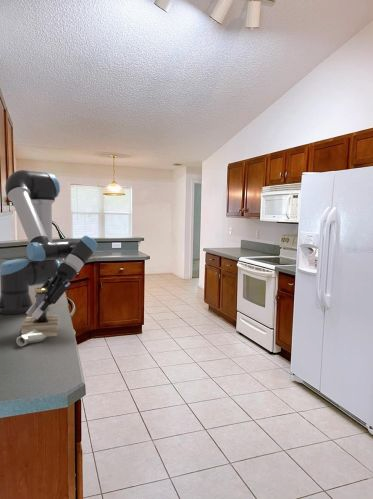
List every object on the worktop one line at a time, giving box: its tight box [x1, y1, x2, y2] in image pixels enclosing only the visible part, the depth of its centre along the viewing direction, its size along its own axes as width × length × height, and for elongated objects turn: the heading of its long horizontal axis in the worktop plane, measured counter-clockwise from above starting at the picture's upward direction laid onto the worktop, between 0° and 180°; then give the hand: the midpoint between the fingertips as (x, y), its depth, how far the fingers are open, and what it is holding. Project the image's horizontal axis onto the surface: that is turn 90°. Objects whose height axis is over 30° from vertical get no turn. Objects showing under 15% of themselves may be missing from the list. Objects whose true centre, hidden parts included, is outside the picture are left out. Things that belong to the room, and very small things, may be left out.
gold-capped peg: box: [34, 287, 48, 323], centre depth 133 cm, size 4×4×13 cm
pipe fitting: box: [16, 329, 47, 347], centre depth 122 cm, size 8×4×7 cm
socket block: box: [20, 314, 60, 338], centre depth 134 cm, size 14×12×4 cm
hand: (31, 316), depth 130 cm, fingers closed on gold-capped peg, 3 cm apart
